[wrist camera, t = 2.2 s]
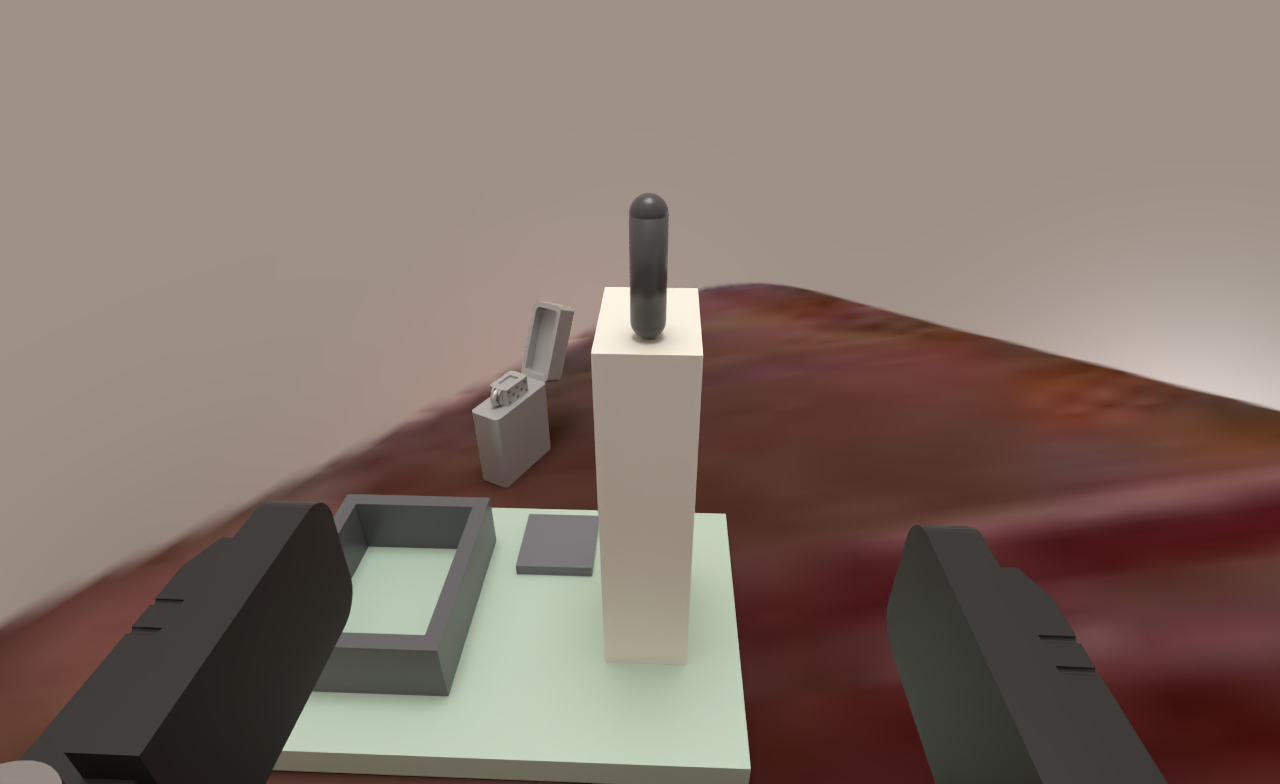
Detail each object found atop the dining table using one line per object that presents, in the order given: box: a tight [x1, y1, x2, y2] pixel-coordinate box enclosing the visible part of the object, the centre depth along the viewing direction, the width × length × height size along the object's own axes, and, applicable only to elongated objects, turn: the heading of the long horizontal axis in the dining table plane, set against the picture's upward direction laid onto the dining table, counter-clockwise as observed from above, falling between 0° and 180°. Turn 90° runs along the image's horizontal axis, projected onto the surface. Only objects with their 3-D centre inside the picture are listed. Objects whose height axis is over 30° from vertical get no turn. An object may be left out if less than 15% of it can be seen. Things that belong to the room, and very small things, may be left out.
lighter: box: [472, 301, 574, 488], centre depth 36 cm, size 7×2×8 cm, turn 151°
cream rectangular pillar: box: [591, 193, 703, 665], centre depth 22 cm, size 3×4×17 cm, turn 178°
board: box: [273, 494, 751, 784], centre depth 27 cm, size 18×12×4 cm, turn 88°
